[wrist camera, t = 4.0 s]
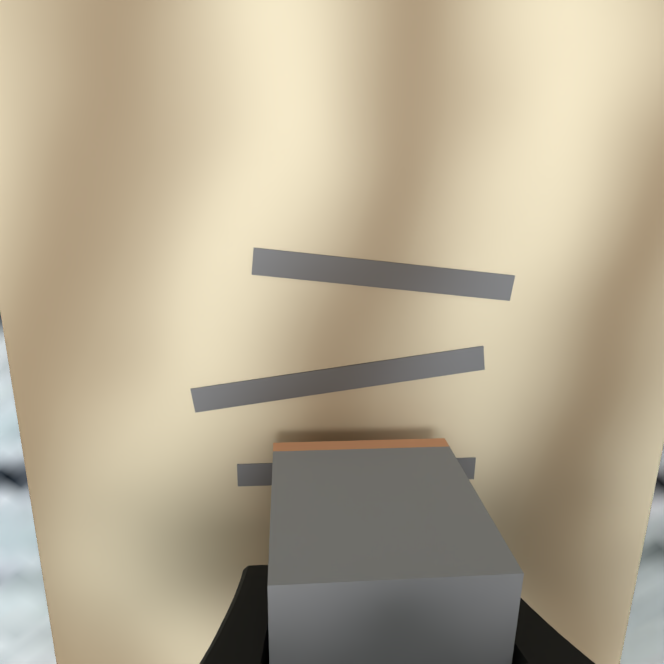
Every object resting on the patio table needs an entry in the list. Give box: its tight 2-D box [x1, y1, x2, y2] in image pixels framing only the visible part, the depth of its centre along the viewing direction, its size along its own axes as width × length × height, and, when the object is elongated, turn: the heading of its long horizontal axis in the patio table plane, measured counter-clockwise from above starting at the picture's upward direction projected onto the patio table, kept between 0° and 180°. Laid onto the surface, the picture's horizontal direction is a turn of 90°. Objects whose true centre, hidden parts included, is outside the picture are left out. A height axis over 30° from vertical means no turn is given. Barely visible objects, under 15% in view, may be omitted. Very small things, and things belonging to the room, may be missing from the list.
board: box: [0, 0, 664, 664], centre depth 14 cm, size 16×26×2 cm, turn 179°
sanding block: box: [267, 438, 524, 664], centre depth 12 cm, size 4×7×4 cm, turn 179°
